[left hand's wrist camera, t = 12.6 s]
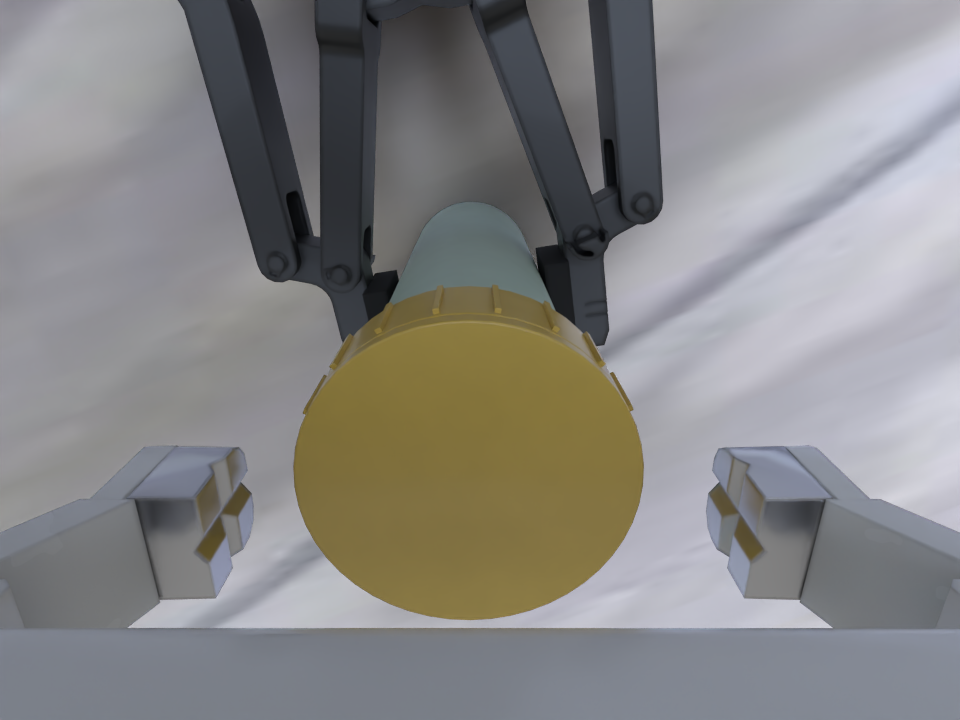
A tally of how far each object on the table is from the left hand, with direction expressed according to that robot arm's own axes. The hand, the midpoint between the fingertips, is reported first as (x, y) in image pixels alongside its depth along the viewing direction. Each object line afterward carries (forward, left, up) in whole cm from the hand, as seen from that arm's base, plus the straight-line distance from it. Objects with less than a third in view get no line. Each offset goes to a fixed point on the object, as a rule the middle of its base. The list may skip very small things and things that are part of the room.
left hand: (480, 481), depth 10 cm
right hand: (+5, -2, -11) cm, 12 cm away
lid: (0, 0, 0) cm, 0 cm away
